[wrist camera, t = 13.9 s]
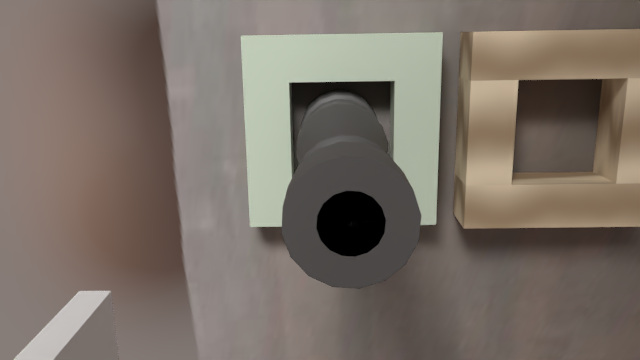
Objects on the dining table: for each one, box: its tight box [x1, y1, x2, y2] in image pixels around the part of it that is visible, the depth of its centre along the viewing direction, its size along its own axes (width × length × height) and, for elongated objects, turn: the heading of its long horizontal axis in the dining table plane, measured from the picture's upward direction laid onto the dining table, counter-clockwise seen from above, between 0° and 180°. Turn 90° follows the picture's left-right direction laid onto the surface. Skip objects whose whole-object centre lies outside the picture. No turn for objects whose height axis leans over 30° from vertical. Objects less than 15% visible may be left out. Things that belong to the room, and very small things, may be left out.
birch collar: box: [453, 29, 640, 229], centre depth 45 cm, size 15×15×4 cm
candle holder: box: [281, 90, 421, 289], centre depth 35 cm, size 6×6×25 cm
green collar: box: [241, 32, 443, 227], centre depth 46 cm, size 15×15×3 cm
